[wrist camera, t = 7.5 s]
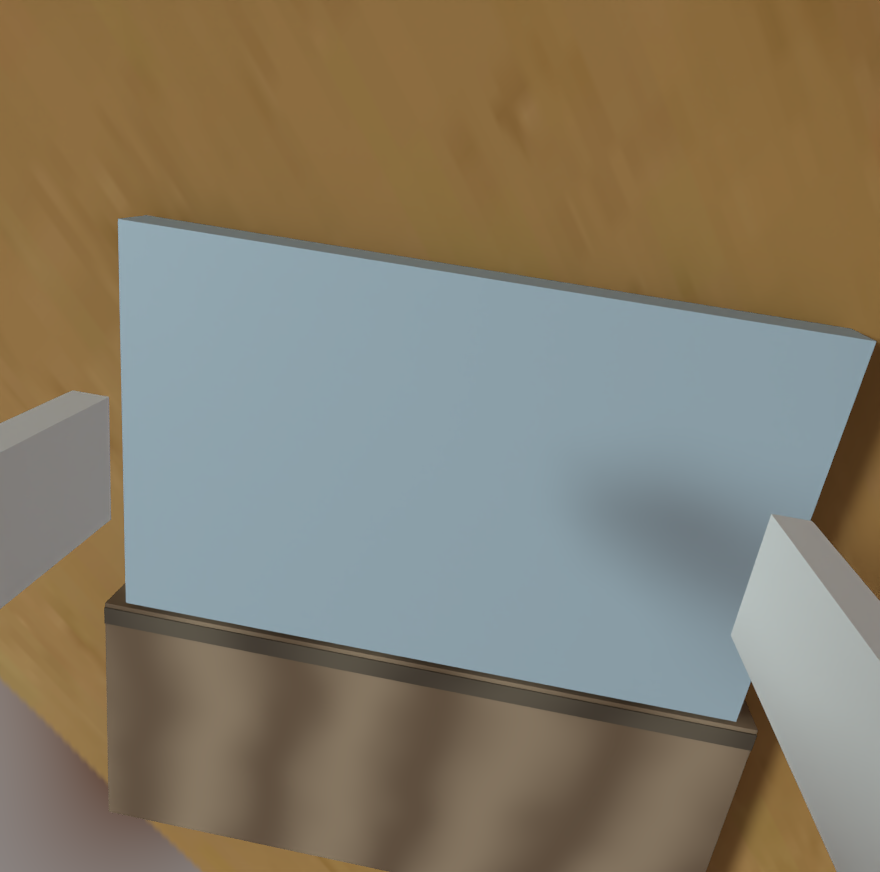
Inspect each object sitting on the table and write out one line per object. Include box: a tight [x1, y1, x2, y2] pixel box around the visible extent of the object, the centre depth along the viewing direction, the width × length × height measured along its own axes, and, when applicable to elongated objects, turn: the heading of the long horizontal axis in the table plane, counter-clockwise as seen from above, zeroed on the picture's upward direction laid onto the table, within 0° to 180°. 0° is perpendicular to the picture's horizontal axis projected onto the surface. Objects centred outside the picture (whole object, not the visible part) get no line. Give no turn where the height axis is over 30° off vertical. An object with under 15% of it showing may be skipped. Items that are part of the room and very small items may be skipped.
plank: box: [118, 215, 876, 722], centre depth 28 cm, size 26×16×2 cm, turn 82°
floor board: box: [104, 583, 758, 872], centre depth 33 cm, size 28×12×2 cm, turn 82°
